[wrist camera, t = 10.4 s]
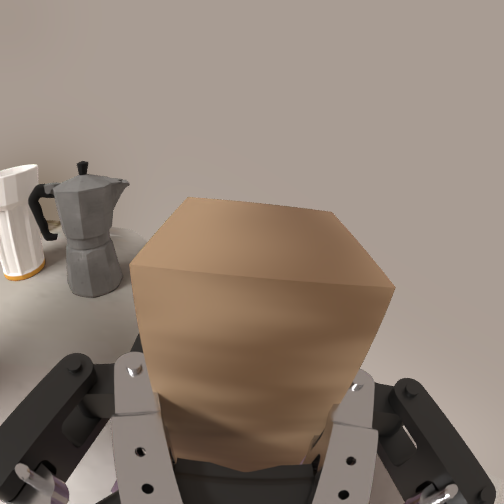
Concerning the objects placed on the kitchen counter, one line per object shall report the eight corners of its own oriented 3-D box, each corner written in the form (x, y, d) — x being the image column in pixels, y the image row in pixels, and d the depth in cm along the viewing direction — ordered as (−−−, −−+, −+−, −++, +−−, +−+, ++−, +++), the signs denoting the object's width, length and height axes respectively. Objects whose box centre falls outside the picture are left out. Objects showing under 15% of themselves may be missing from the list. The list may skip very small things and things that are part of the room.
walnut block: (181, 478, 10) (129, 264, 5) (193, 405, 14) (187, 197, 9) (283, 484, 10) (395, 287, 5) (278, 411, 14) (331, 211, 9)
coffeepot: (133, 262, 43) (129, 154, 36) (137, 293, 36) (130, 161, 28) (50, 271, 37) (35, 164, 29) (39, 304, 29) (13, 175, 22)
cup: (13, 254, 39) (0, 169, 32) (57, 252, 43) (47, 161, 35) (-10, 284, 29) (-32, 184, 22) (38, 284, 33) (19, 174, 26)
